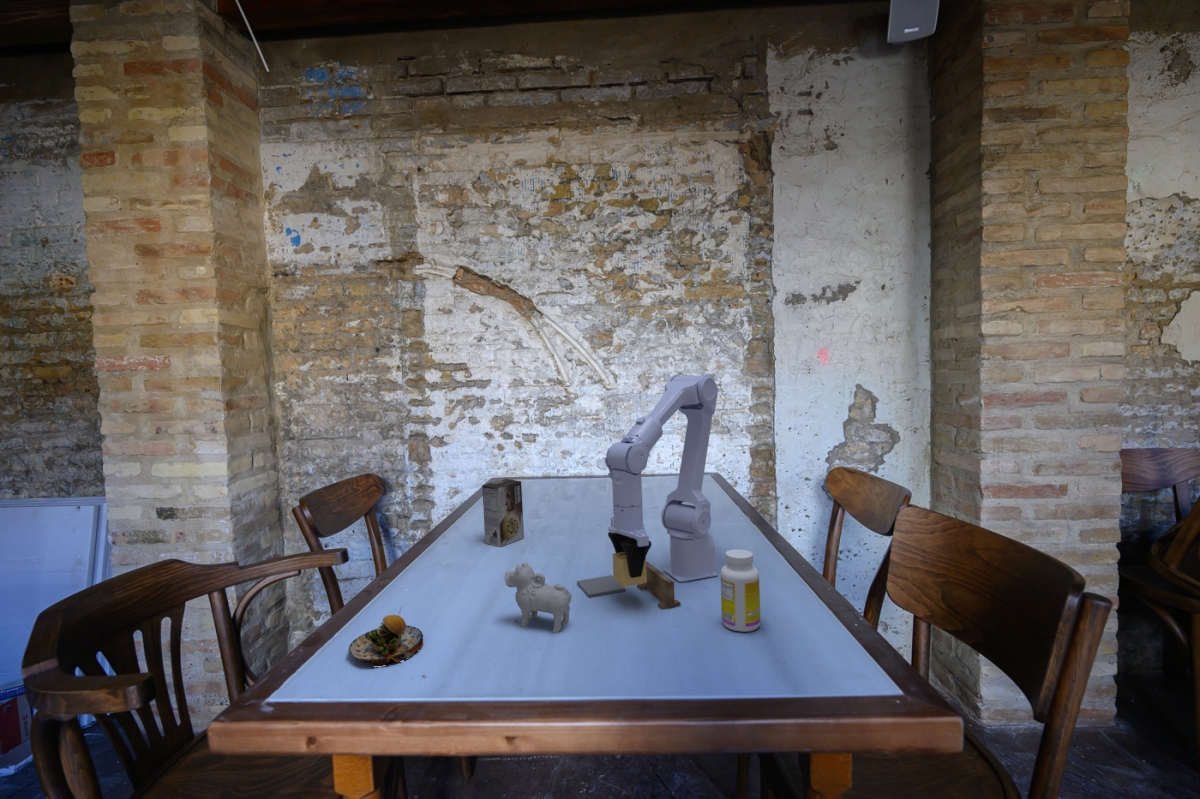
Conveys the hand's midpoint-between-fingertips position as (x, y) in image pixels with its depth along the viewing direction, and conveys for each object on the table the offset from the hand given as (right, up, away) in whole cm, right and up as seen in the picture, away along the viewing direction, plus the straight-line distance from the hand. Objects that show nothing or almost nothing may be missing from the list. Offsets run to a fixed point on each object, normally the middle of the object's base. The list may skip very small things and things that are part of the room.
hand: (630, 571), depth 110 cm
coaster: (-6, -6, +8) cm, 11 cm away
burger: (-42, -9, -16) cm, 46 cm away
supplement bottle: (+19, -6, -11) cm, 23 cm away
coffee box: (-32, -5, +42) cm, 53 cm away
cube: (0, -2, 0) cm, 2 cm away
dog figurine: (-17, -7, -8) cm, 20 cm away
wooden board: (+6, -6, +2) cm, 8 cm away
